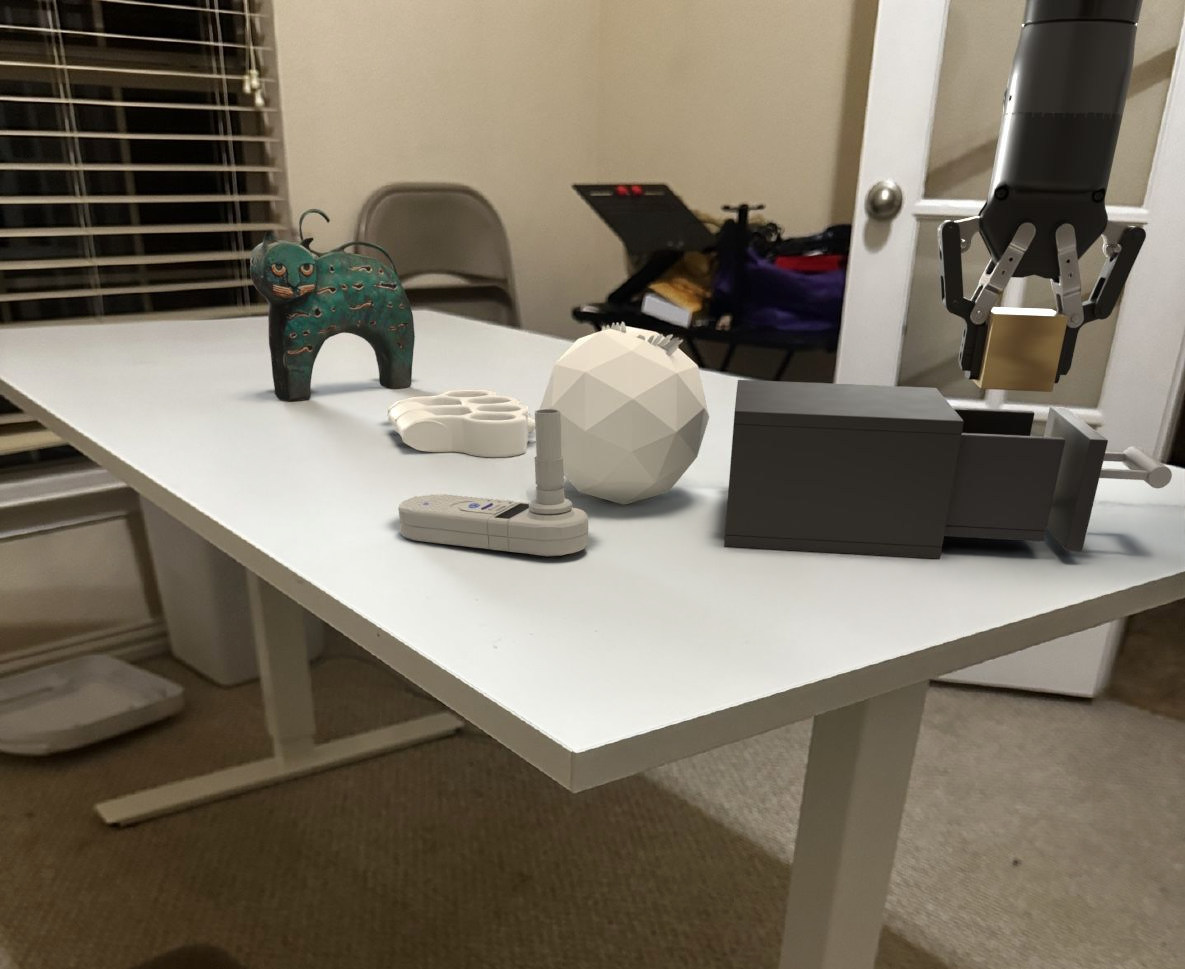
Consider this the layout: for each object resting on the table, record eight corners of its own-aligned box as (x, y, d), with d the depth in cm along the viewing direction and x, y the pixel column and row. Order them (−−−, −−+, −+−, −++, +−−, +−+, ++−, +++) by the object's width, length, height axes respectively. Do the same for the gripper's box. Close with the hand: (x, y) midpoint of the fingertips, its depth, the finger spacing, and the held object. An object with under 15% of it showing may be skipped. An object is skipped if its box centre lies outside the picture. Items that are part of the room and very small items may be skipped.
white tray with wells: (384, 424, 121) (517, 419, 125) (409, 461, 106) (559, 454, 110) (382, 391, 120) (516, 387, 123) (407, 425, 104) (559, 419, 108)
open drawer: (1117, 510, 92) (1142, 410, 88) (1165, 556, 81) (1196, 444, 77) (863, 497, 94) (876, 399, 90) (877, 540, 83) (893, 430, 79)
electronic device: (413, 395, 84) (598, 406, 79) (425, 525, 89) (599, 544, 83) (374, 407, 80) (566, 420, 74) (388, 543, 84) (570, 565, 79)
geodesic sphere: (776, 424, 95) (688, 270, 93) (715, 456, 84) (614, 282, 81) (642, 512, 104) (559, 374, 102) (571, 552, 93) (477, 398, 90)
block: (1037, 381, 85) (1052, 309, 82) (1052, 392, 80) (1068, 316, 78) (969, 377, 85) (981, 306, 83) (980, 388, 81) (994, 313, 78)
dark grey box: (917, 509, 95) (936, 387, 90) (940, 558, 83) (964, 420, 78) (728, 500, 96) (737, 379, 91) (724, 546, 84) (734, 410, 79)
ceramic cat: (280, 404, 130) (259, 209, 120) (254, 396, 134) (231, 207, 124) (424, 388, 141) (415, 209, 132) (396, 381, 146) (385, 207, 136)
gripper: (960, 104, 72) (917, 384, 80) (1195, 108, 70) (1127, 393, 78) (943, 110, 78) (905, 368, 86) (1158, 114, 77) (1098, 376, 85)
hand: (1011, 378), depth 82 cm, fingers closed on block, 5 cm apart
